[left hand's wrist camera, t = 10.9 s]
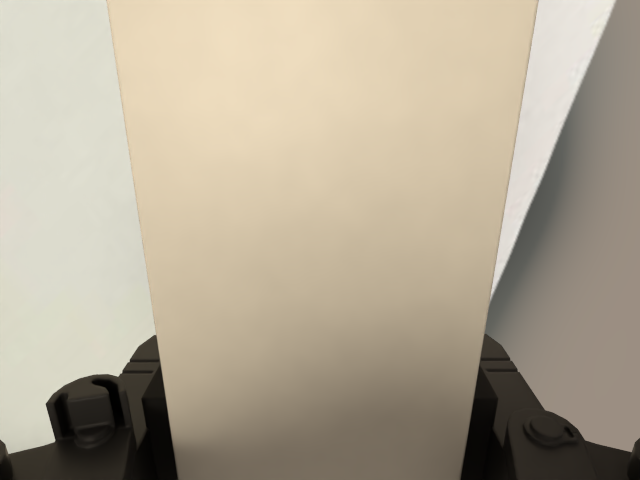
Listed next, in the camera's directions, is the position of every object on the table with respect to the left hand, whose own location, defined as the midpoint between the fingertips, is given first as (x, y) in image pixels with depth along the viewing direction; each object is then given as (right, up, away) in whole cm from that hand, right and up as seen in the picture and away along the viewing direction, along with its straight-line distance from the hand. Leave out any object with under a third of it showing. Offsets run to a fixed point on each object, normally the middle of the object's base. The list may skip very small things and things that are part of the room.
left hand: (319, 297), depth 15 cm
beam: (0, +26, -9) cm, 27 cm away
